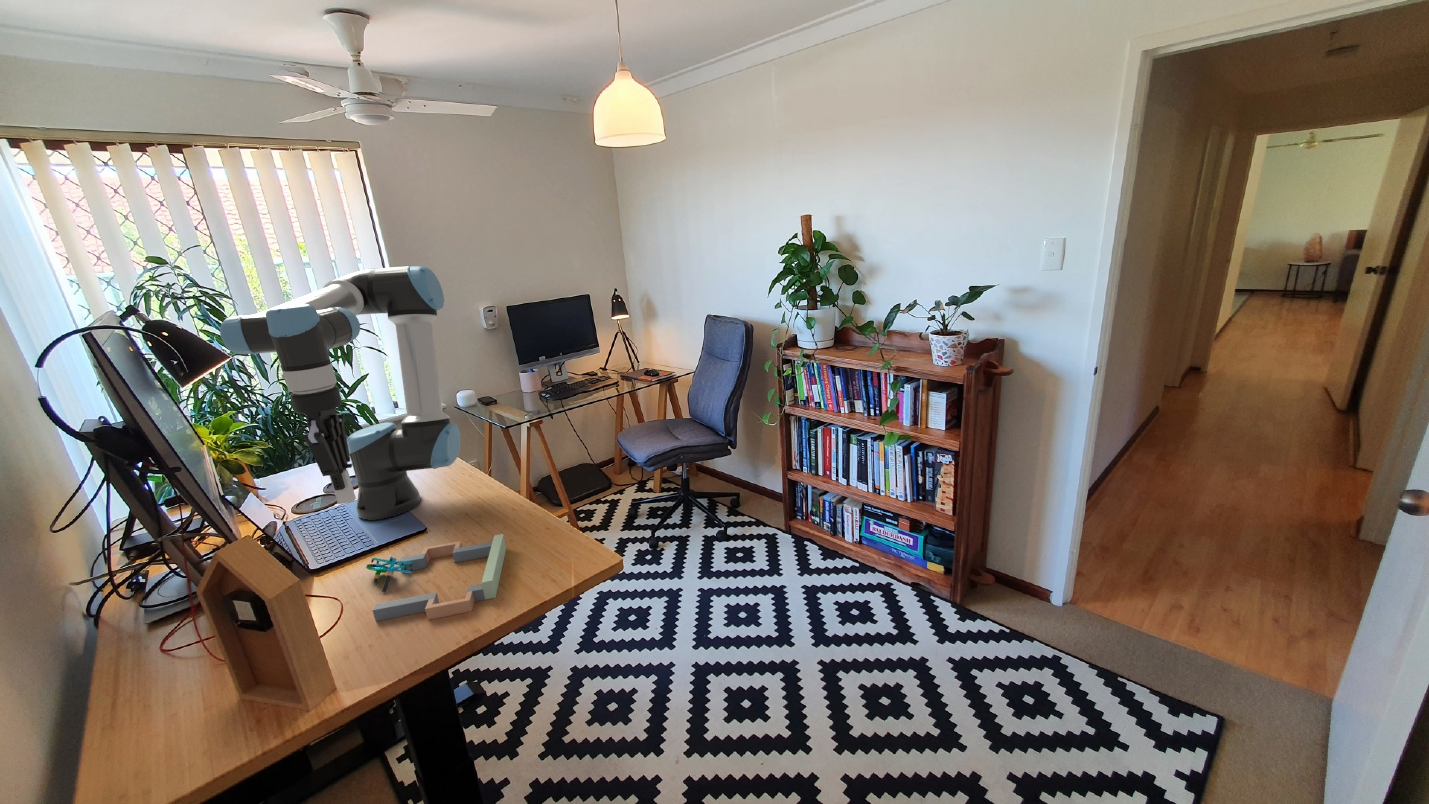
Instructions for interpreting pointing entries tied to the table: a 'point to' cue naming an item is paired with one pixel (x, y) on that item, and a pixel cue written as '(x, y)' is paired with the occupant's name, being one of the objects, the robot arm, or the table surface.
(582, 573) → the table surface
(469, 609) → the wall
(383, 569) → the stick construction toy
